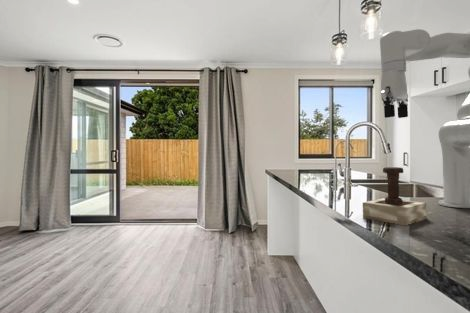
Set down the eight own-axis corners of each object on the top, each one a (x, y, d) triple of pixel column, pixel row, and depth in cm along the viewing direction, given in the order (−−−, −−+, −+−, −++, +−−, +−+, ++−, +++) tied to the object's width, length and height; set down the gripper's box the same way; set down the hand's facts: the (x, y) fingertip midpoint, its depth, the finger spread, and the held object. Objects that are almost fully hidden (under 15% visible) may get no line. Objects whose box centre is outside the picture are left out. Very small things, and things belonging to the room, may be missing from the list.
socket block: (384, 212, 99) (384, 197, 99) (426, 218, 88) (426, 202, 88) (363, 218, 92) (362, 202, 91) (405, 225, 81) (405, 208, 81)
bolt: (405, 217, 86) (404, 168, 86) (387, 217, 88) (386, 168, 87) (399, 213, 92) (398, 167, 92) (382, 212, 93) (381, 167, 93)
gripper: (394, 74, 108) (397, 118, 109) (370, 68, 98) (373, 118, 98) (416, 68, 102) (418, 116, 102) (392, 62, 92) (395, 115, 92)
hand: (396, 117), depth 100 cm, fingers open, 9 cm apart
